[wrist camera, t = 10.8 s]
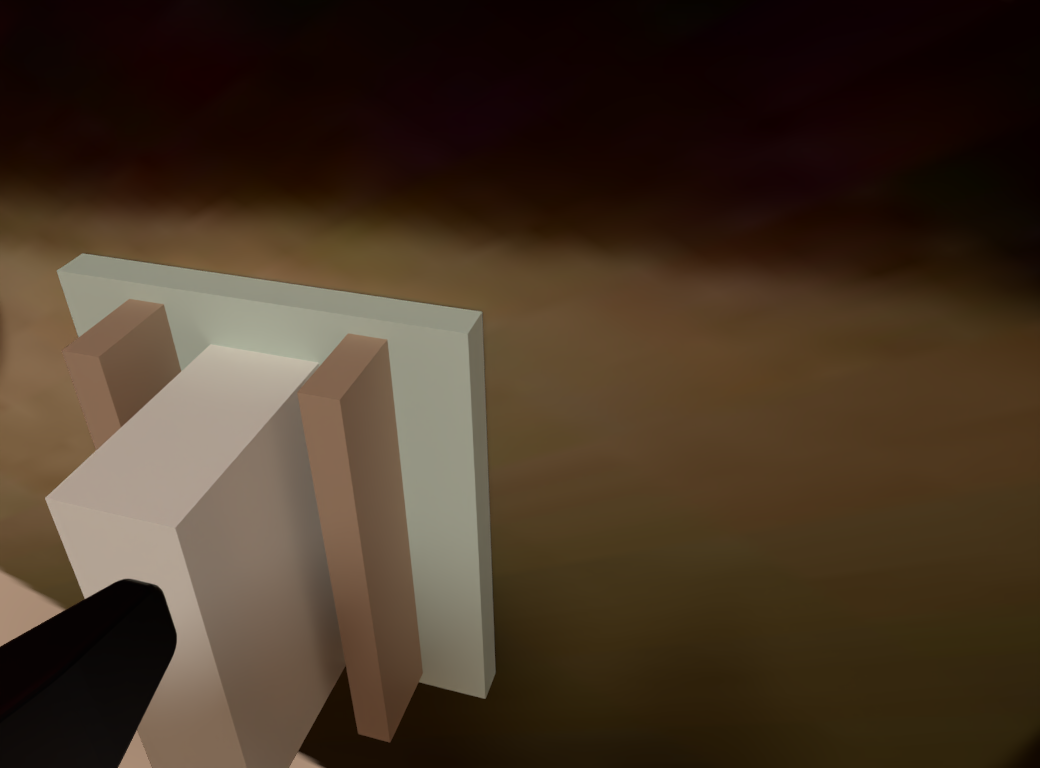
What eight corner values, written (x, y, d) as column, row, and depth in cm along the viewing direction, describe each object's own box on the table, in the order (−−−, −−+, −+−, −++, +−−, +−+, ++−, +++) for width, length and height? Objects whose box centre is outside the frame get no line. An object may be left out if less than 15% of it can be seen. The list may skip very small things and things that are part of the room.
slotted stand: (482, 312, 21) (426, 395, 19) (495, 672, 29) (457, 771, 26) (83, 253, 24) (-18, 319, 21) (189, 597, 32) (124, 679, 29)
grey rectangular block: (319, 362, 22) (175, 527, 18) (361, 636, 28) (261, 817, 23) (210, 344, 23) (45, 498, 18) (273, 615, 29) (159, 785, 24)
